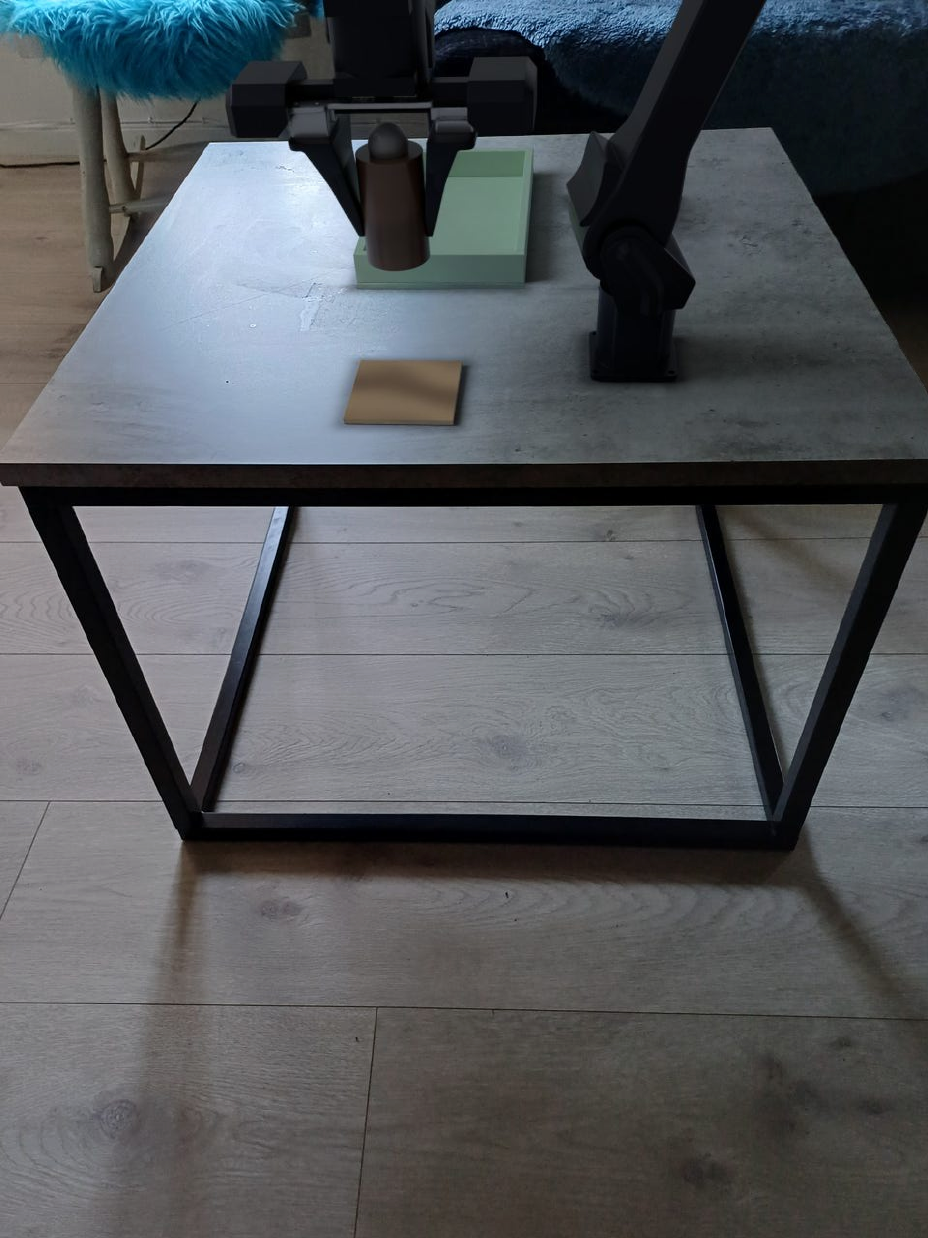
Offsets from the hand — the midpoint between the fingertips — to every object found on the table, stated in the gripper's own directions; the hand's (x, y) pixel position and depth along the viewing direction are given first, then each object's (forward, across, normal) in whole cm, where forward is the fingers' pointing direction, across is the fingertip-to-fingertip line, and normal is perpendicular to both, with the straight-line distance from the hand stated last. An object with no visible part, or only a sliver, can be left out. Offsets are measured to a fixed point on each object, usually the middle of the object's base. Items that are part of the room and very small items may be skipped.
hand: (397, 234), depth 64 cm
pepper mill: (+2, 0, 0) cm, 2 cm away
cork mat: (+11, 0, +3) cm, 11 cm away
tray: (+11, -1, -25) cm, 28 cm away
